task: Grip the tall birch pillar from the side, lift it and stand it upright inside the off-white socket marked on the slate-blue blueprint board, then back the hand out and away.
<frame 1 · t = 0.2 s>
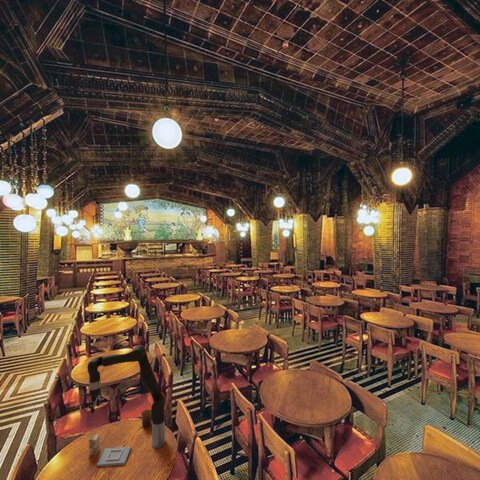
hand: (95, 409, 197), 29 cm above the table, tool pointing down, fingers open, 8 cm apart
mug: (148, 424, 223), on the table
pillar: (94, 452, 194), on the table
board: (114, 457, 190), on the table
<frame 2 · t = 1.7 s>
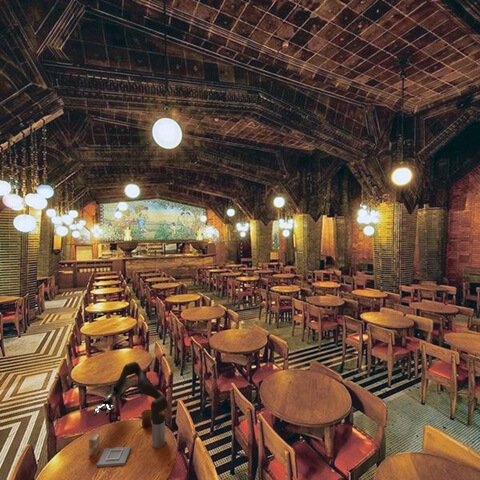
hand: (100, 414, 205), 20 cm above the table, tool horizontal, fingers open, 8 cm apart
nothing on the table moved.
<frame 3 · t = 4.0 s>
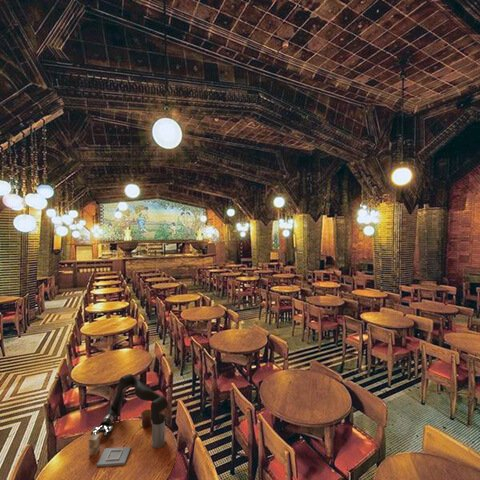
hand: (98, 437, 200), 6 cm above the table, tool horizontal, fingers open, 8 cm apart
nothing on the table moved.
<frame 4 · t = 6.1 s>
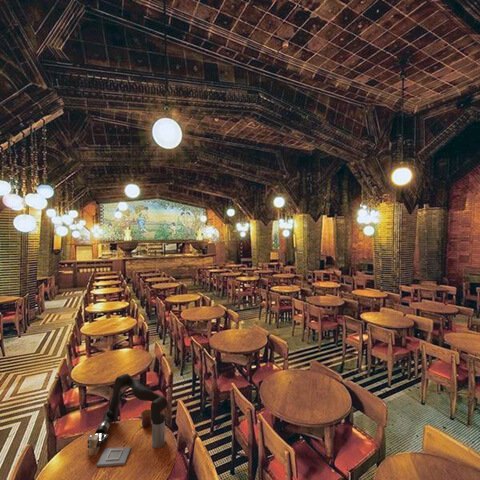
hand: (92, 446, 191), 6 cm above the table, tool horizontal, fingers closed on pillar, 5 cm apart
pillar: (94, 452, 194), on the table, touching gripper
everything else where it was.
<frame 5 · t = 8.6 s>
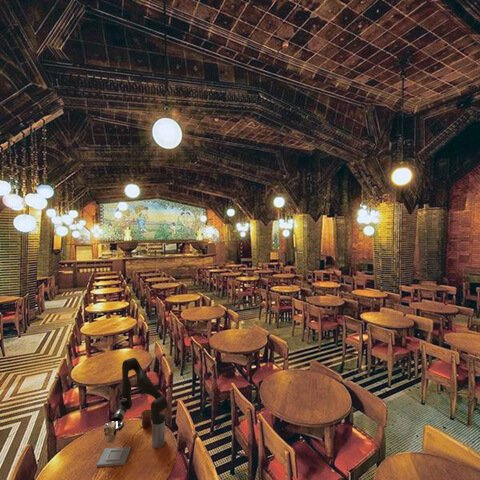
hand: (109, 434, 187), 18 cm above the table, tool horizontal, fingers closed on pillar, 5 cm apart
pillar: (111, 440, 190), point 12 cm above the table, touching gripper
everything else where it was.
when the fingers open (9 cm above the table, at t = 11.0 s): pillar drops 1 cm, resting on board.
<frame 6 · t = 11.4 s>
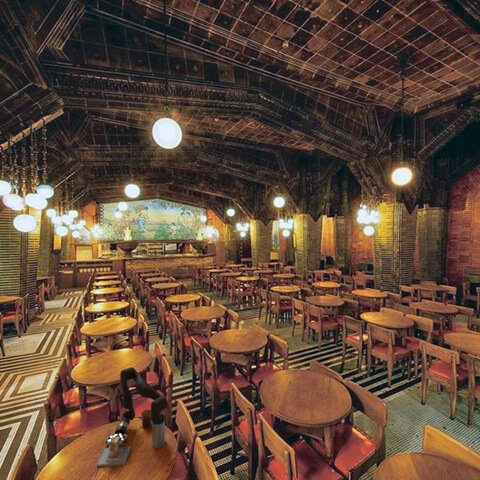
hand: (113, 446, 187), 9 cm above the table, tool horizontal, fingers open, 8 cm apart
pillar: (114, 455, 190), point 1 cm above the table, touching board
everything else where it was.
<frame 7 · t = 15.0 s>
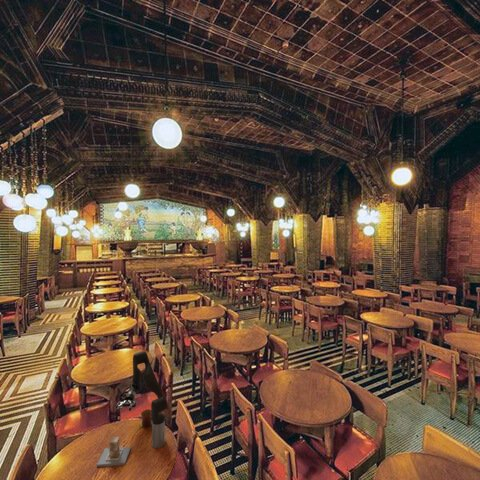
hand: (123, 410, 204), 24 cm above the table, tool horizontal, fingers open, 8 cm apart
nothing on the table moved.
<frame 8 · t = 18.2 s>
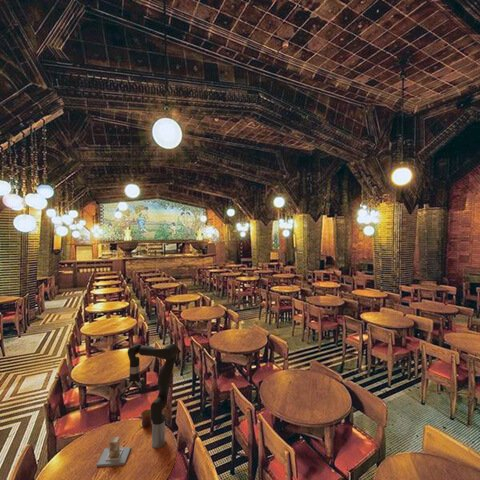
hand: (134, 392, 210), 34 cm above the table, tool pointing down, fingers open, 8 cm apart
nothing on the table moved.
at the end: pillar 0.1 cm off-centre on the board, point 1.5 cm above the board's base; pillar tilted 0°; the gripper is holding nothing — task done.
